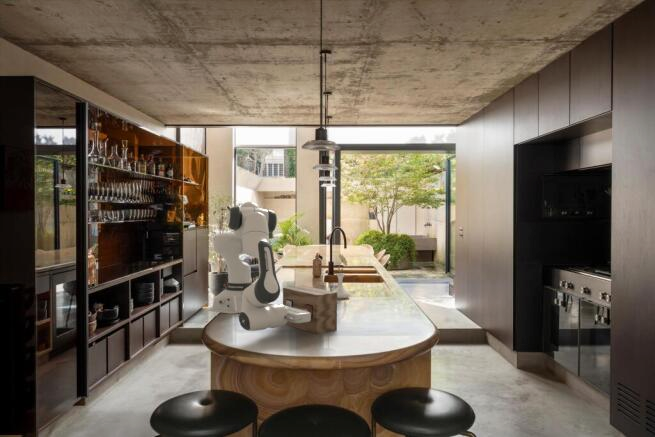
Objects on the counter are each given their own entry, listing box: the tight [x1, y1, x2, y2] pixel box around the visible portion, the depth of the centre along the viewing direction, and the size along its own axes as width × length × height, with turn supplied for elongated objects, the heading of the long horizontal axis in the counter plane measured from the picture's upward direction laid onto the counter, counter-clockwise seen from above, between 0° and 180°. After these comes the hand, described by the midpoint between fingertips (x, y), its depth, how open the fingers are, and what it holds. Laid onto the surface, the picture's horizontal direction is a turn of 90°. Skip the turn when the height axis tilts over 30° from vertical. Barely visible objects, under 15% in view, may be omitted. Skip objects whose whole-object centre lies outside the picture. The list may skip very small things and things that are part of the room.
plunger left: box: [286, 300, 293, 308], centre depth 223 cm, size 8×4×4 cm, turn 130°
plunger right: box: [303, 305, 313, 316], centre depth 212 cm, size 8×4×4 cm, turn 130°
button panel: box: [282, 285, 338, 335], centre depth 219 cm, size 11×24×16 cm, turn 40°
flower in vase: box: [332, 253, 351, 300], centre depth 289 cm, size 13×11×25 cm
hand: (305, 311), depth 209 cm, fingers closed, pressing on plunger right
